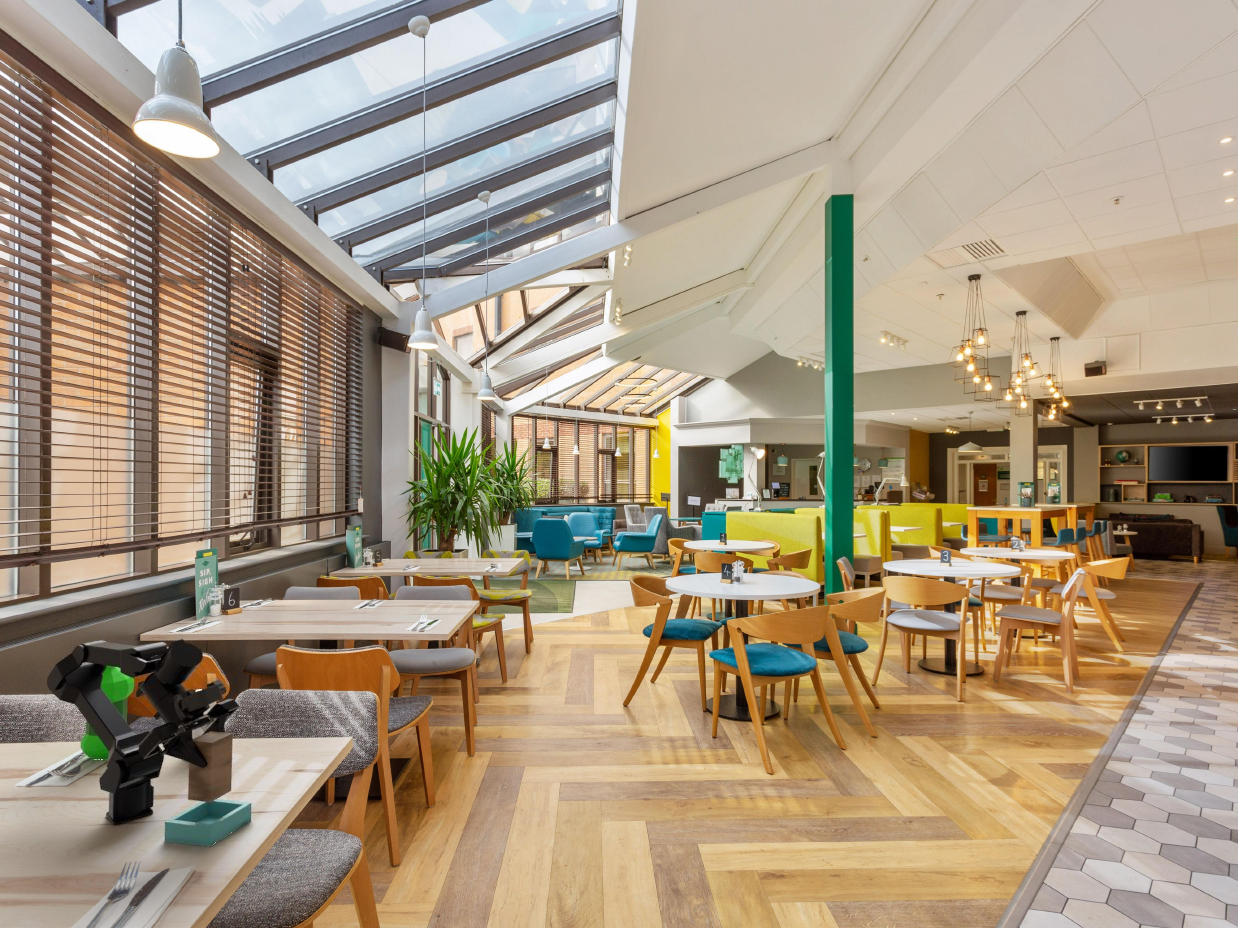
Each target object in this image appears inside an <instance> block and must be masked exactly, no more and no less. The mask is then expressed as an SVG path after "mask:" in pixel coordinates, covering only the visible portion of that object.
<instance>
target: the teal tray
mask: <svg viewBox="0 0 1238 928" xmlns="http://www.w3.org/2000/svg"><path fill="white" fill-rule="evenodd" d="M251 822H252V802H250V801H249V802H247V801H240V800H232V799H222V798H218V799H216V800H214V801H212V802H203V801H199V802H198V803H196V804H195V805H193V806H191V807H189V808H188V809H186V810H183V811H182V812H180V813H178V814H177V815H175V816H172V817H171V818H169V819H168V820H165V821H164V839H163V840H164V842H168V843H176V844H184V845H191V846H198V845H203V846H202V847H205V846H211V847H213V846H214V845H215V844H214V843H215V842H217V841H219V840H220V839H222V838H224V837H225V836H227V835H228V836H230V835H231V834H232V833H231V832H233V833H234V831H235V832H236V831H238V830H239V829H241V828H242V827H244V826H245V825H247V824H248V823H251ZM240 827H241V828H240ZM237 829H238V830H237ZM230 833H231V834H230ZM229 834H230V835H229ZM228 836H227V837H228ZM225 838H226V837H225ZM225 838H224V839H225ZM222 840H223V839H222ZM219 842H220V841H219ZM217 843H218V842H217ZM213 844H214V845H213ZM212 845H213V846H212Z"/></svg>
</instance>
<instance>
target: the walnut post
mask: <svg viewBox="0 0 1238 928" xmlns="http://www.w3.org/2000/svg"><path fill="white" fill-rule="evenodd" d="M233 737H234V735H233V732H225V733H224V732H213V731H210V732H208V733H206V734H204V735H201V736H199V737H197V738H194V739H193V741H194V742H195V744H196V745H197V747H198V748H199V750H200V751H201V753H202V754H203V756H204V757H205V759H206V761H207V763H208V765H207V766H206V767H205V768H201V767H199V766H196V765H194V764H191V763H189V762H188V784H187V785H188V788H187V791H188V792H187V795H188V796H187V800H189V801H196V802H202V801H203V802H212V801H214V800H216V799H220V798H221V797H222V796H225V795H227V794H228V793H230V792H232V780H233V779H232V776H233V774H232V772H233V769H232V768H233V739H234V738H233Z"/></svg>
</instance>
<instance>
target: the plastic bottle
mask: <svg viewBox="0 0 1238 928" xmlns="http://www.w3.org/2000/svg"><path fill="white" fill-rule="evenodd" d="M101 689H102V690H103V691H104V693H105V694H106V695H107V697H108V698H109V699H110V701H111V702H112V703H113V705H114V706H115V707H116V709H117V710H118V711H119V713H120V714H121V715H122V717H123V718H124V719H125V721H126V722H127V723H128V718H127V717H128V697H130V695H131V694H132V693H133V692H134V689H135V679H134V678H131V677H129V676H126V675H124V674H122V673H121V672H120V668H118V667H113V666H107V668H106V670H105V671H104V673H103V679H102V683H101ZM85 722H86V723H85V725H86V726H85V733H84V735H83V737H82V738H81V741H80V748H81V751H82V752H83V753H84V754H85V755H86V756H87V757H88V758H90V759H91V760H93V759H100V760H101V759H107V760H108V755H109V751H108V750H107V748H106V747H105V746H104V744H103V743H102V741H101V740H100V739H99V737H98V736H97V734H96V733H95V732H94V730H93V729H92V727H91V726H90V725H89V723H88V722H87V720H86V719H85Z"/></svg>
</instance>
